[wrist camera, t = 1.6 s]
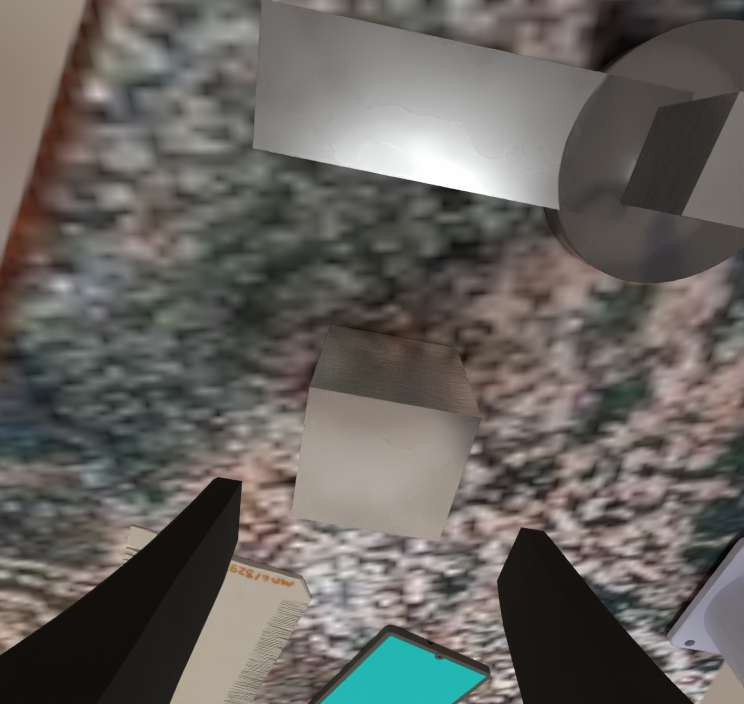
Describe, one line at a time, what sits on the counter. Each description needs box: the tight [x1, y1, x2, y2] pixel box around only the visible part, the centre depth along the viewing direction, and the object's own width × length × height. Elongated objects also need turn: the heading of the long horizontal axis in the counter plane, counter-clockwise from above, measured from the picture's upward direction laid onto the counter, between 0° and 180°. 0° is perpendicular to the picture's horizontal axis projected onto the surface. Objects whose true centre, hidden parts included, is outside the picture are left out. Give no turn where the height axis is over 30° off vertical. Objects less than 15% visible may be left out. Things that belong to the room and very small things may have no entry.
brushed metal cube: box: [291, 324, 482, 541], centre depth 15 cm, size 5×5×5 cm
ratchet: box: [253, 0, 744, 283], centre depth 12 cm, size 16×7×4 cm, turn 80°
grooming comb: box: [121, 525, 312, 704], centre depth 26 cm, size 18×10×1 cm, turn 157°
